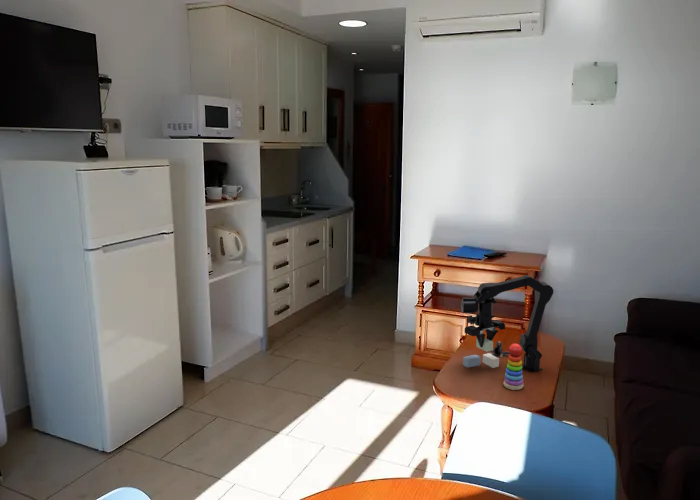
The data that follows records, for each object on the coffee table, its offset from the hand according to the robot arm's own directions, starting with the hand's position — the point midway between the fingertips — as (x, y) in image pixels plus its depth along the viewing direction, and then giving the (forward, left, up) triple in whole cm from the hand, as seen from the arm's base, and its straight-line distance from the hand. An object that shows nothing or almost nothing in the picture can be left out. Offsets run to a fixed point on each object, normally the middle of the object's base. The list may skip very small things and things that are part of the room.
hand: (484, 346), depth 240 cm
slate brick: (+6, +2, -11) cm, 12 cm away
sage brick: (0, 0, -1) cm, 1 cm away
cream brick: (+2, -6, -11) cm, 12 cm away
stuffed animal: (+11, -19, -11) cm, 24 cm away
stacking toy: (-20, +1, -11) cm, 23 cm away
